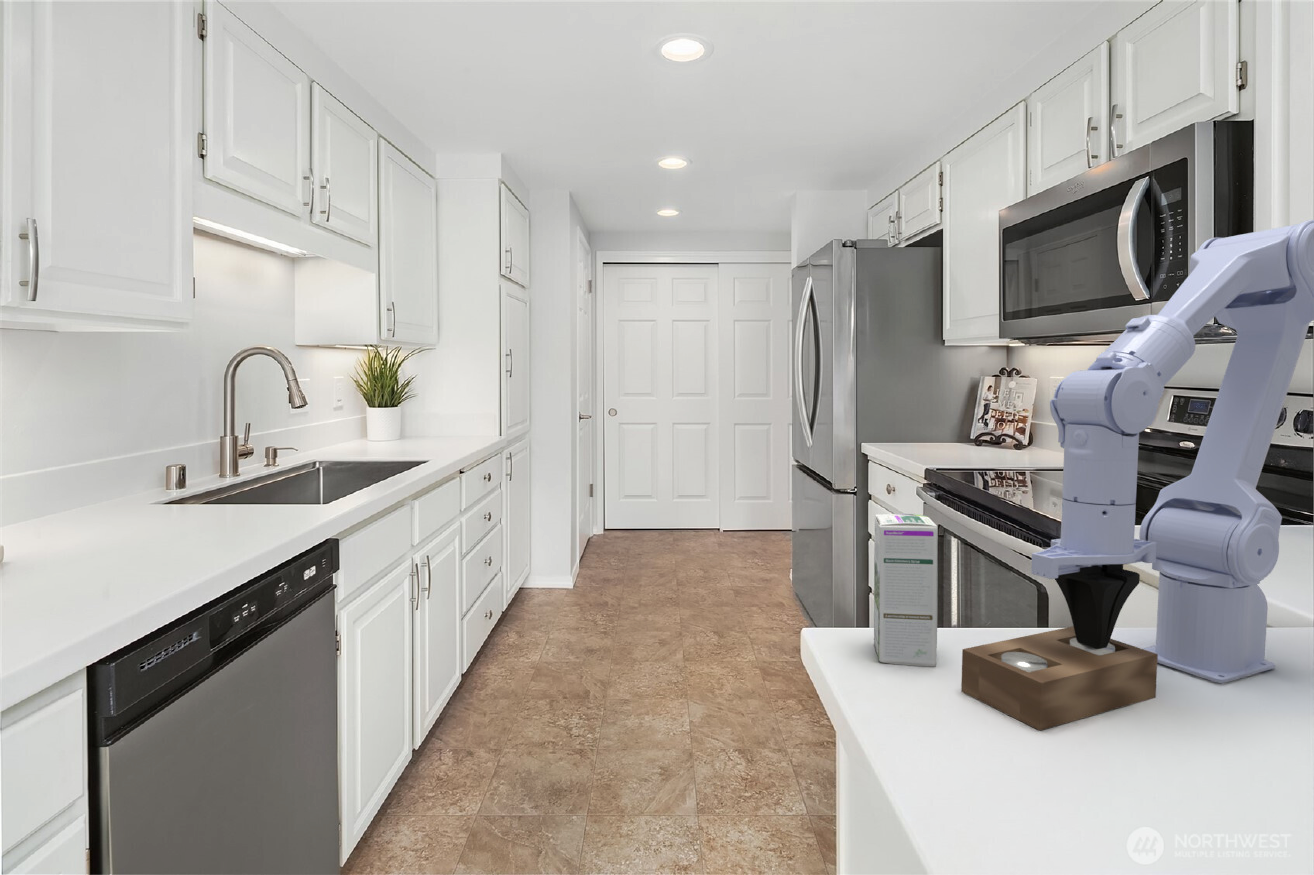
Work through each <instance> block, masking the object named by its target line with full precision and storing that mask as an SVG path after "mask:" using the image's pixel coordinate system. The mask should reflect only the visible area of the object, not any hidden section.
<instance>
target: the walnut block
mask: <svg viewBox="0 0 1314 875" xmlns="http://www.w3.org/2000/svg"><path fill="white" fill-rule="evenodd" d="M1072 638H1076V635H1075V631H1074V626H1073V625H1072V626H1068V627H1062V628H1059V629H1053V630H1048V631H1044V632H1039V633H1034V634H1029V635H1025V636H1020V637H1015V638H1011V639H1005V640H1002V641H1001V640H1000V641H996V642H991V643H986V644H981V645H977V646H972V647H966V648H962V654H961V655H962V656H961V657H962V658H961V685H960V686H961V687H960V688H961V689H960V691H961V693H963V694H965V695H967V696H969V697H970V698H974V699H976V700H977V701H979V702H981V703H983V704H986V705H988V706H989V707H992V708H994V709H995V710H998V711H1000V712H1002V713H1003V714H1004V715H1005V714H1006V715H1008V716H1010V717H1011V718H1014V719H1016V720H1017V721H1020V722H1022V723H1023V724H1026V725H1027V726H1030V727H1032V728H1034V729H1035V728H1036V730H1038V731H1043V730H1046V729H1051V728H1054V727H1058V726H1060V725H1065V724H1069V723H1071V722H1075V721H1079V720H1082V719H1084V718H1085V719H1086V718H1089V717H1093V716H1096V715H1099V714H1103V713H1105V712H1109V711H1110V712H1111V711H1113V710H1116V709H1119V708H1123V707H1126V706H1130V705H1134V704H1137V703H1140V702H1144V701H1149V700H1152V699H1155V698H1156V696H1157V676H1158V662H1157V659H1158V654H1156V653H1153V652H1150V651H1147V650H1144V649H1143V648H1141V647H1138V646H1134V645H1131V644H1130V643H1129V644H1128V643H1126V642H1125V643H1124V642H1122V641H1120V640H1116V639H1113V638H1110V641H1109V643H1110V644H1112V645H1113V646H1114V647H1115V652H1112V653H1108V654H1104V655H1100V656H1099V655H1096V654H1093V653H1091V652H1088V651H1085V650H1082V649H1079V648H1077V647H1074V646H1071V645H1070V639H1072ZM1007 652H1022V653H1028V654H1032V655H1036V656H1038V657H1041V658H1043V659H1044V660H1046V661H1047V663H1048V665H1047V668H1045V669H1041V670H1037V671H1032V672H1026V671H1024V670H1022V669H1019V668H1017V667H1015V666H1012V665H1010V664H1007V663H1005V662H1003V661H1001V656H1002V654H1004V653H1007Z"/></svg>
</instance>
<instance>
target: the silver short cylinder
mask: <svg viewBox="0 0 1314 875" xmlns="http://www.w3.org/2000/svg"><path fill="white" fill-rule="evenodd" d="M1070 645H1071V646H1074V647H1077V648H1079V649H1082V650H1085V651H1088V652H1091V653H1093V654H1096V655H1099V656H1100V655H1104V654H1108V653H1112V652H1115V647H1114V646H1113V645H1112V644H1110V643H1108V646H1107V647H1105V648H1101V649H1095V648H1093V647H1090V646H1087V645H1084V644H1081V643H1078V642H1077V639H1076V638H1072V639H1070Z"/></svg>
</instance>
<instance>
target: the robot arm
mask: <svg viewBox="0 0 1314 875" xmlns="http://www.w3.org/2000/svg"><path fill="white" fill-rule="evenodd" d="M1214 318H1216V320H1217V322H1218V323H1219V324H1221V325H1223V326H1225V327H1228V328H1231V329H1233V330H1234V331H1236V335H1237V336H1236V339H1235V341H1234V342H1235V343H1234V346H1233V348H1232V352H1231V354H1230V358H1229V359H1228V360H1229V361H1228V363H1227V367H1226V369H1225V372H1224V375H1223V378H1222V381H1221V384H1220V387H1219V390H1218V393H1217V395H1216V399H1215V401H1214V405H1213V407H1212V412H1211V413H1210V416H1209V420H1208V423H1207V425H1206V429H1205V432H1204V433H1203V434H1204V435H1203V437H1202V441H1201V444H1200V446H1199V449H1198V452H1197V456H1196V459H1195V462H1194V464H1193V467H1192V470H1191V473H1190V474H1189V475H1188V476H1185V477H1183V478H1181V479H1179V480H1177V481H1175V482H1172V483H1171V484H1168V485H1166V486H1165V487H1163V488H1162V489H1160V491H1159V493H1158V496H1157V498H1156V501H1155V502H1154V505H1153V506H1152V507H1151V508H1150V510H1149V511H1148V513H1147V514H1146V515H1145V516H1144V518H1143V519H1142V521H1141V524H1140V528H1139V535H1138V536H1139V538H1135V533H1136V532H1135V530H1136V529H1135V528H1136V508H1137V506H1136V503H1137V487H1138V486H1137V484H1138V466H1139V465H1138V464H1139V463H1138V462H1139V460H1138V459H1139V443H1140V442H1139V440H1140V433H1142V432H1144V430H1146V429H1147V428H1148V427H1150V426H1152V424H1153V423H1154V421H1155V418H1156V417H1157V414H1158V409H1159V403H1160V400H1161V399H1162V397H1163V396H1164V392H1165V386H1166V385H1167V384H1168V383H1169V382H1170V381H1171V380H1172V379H1173V378H1174V376H1175V375H1176V374H1177V373H1178V372H1179V371H1180V369H1182V368H1183V367H1184V366H1185V364H1186V363H1187V362H1188V361H1189V360H1190V359H1191V358H1192V357H1193V355H1194V353H1195V350H1196V341H1195V338H1194V336H1195V335H1196V334H1197V333H1198V332H1200V330H1202V328H1204V327H1205V326H1206V325H1207V324H1208V323H1210V322H1211V321H1212V320H1213V319H1214ZM1313 321H1314V219H1309V220H1305V221H1303V222H1302V221H1301V223H1297V224H1291V225H1286V226H1282V227H1276V228H1270V229H1269V228H1268V229H1264V230H1258V231H1254V232H1248V233H1243V234H1237V235H1233V236H1228V237H1227V236H1226V237H1219V236H1218V237H1212V238H1209V239H1207V240H1205V241H1204V242H1202V244H1201V245H1200V246H1199V248H1198V249H1197V251H1195V252H1193V253H1192V254H1191V255H1190V259H1189V275H1188V276H1187V277H1186V278H1185V279H1184V281H1183V282H1182V283H1181V285H1180V286H1179V287H1178V289H1177V290H1176V291H1175V292H1174V294H1172V296H1171V297H1170V299H1168V301H1167V302H1166V303H1165V305H1164V306H1163V307H1162V308H1161V309H1160V311H1159V312H1158V313H1157V314H1147V315H1143V316H1141V317H1140V316H1139V317H1136V318H1135V317H1134V318H1131V319H1130V320H1129V321H1128V322H1127V323H1126V324H1125V330H1124V331H1123V332H1122V333H1121V334H1120V335H1119V336H1118V337H1117V338H1116V339H1115V340H1114V341H1113V342H1112V343H1111V344H1110V345H1109V346H1108V347H1107V348H1106V349H1105V350H1104V351H1103V352H1101V353H1100V354H1099V355H1098V356H1097V357H1096V360H1095V361H1094V362H1093V363H1091V365H1090V366H1088V368H1087V369H1085V370H1084V369H1083V370H1076V371H1073V372H1071V373H1069V374H1068V375H1067V376H1066V377H1065V378H1063V379H1062V380H1061V381H1060V382H1059V383H1058V384H1057V387H1056V388H1055V391H1054V394H1053V399H1050V400H1049V409H1050V414H1051V417H1052V419H1053V421H1054V423H1055V424H1056V427H1057V429H1058V443H1059V444H1060V445H1059V446H1060V447H1061V448H1062V449H1064V450H1063V471H1062V493H1061V495H1062V496H1061V497H1062V498H1061V499H1062V501H1061V502H1062V503H1061V519H1060V520H1061V521H1060V522H1061V524H1060V527H1061V528H1060V538H1056V539H1055V538H1054V539H1051V540H1050V547H1048V548H1046V549H1044V550H1040V551H1036V552H1032V553H1031V570H1030V573H1031V574H1032V575H1033V576H1038V577H1042V578H1045V579H1048V580H1055V582H1056V584H1057V585H1058V587H1059V589H1060V590H1061V592H1062V595H1063V596H1064V600H1065V602H1066V605H1067V607H1068V611H1069V613H1070V617H1071V623H1072V626H1074V631H1075V635H1076V639H1077V642H1078V643H1081V644H1084V645H1087V646H1090V647H1093V648H1095V649H1101V648H1105V647H1107V646H1108V643H1109V641H1110V639H1112V635H1113V632H1114V629H1115V627H1116V623H1117V620H1118V618H1119V615H1120V613H1121V610H1122V609H1123V607H1124V605H1125V603H1126V602H1127V600H1128V598H1129V597H1130V595H1131V594H1132V593H1133V591H1134V590H1135V589H1136V588H1137V587H1138V585H1139V584H1140V581H1141V580H1140V578H1141V575H1140V573H1138V572H1136V571H1132V570H1127V569H1124V566H1125V565H1129V564H1136V563H1145V564H1151V570H1153V571H1156V572H1159V574H1158V575H1159V576H1158V591H1157V592H1158V594H1157V611H1156V612H1157V615H1156V616H1157V617H1156V618H1157V619H1156V635H1155V645H1152V646H1148V647H1143V648H1142V649H1144V650H1147V651H1150V652H1153V653H1156V654H1158V659H1157V664H1161V665H1164V666H1167V667H1169V668H1173V669H1176V670H1179V671H1181V672H1183V673H1184V672H1185V673H1187V674H1191V675H1193V676H1196V677H1200V678H1203V679H1204V680H1205V679H1206V680H1208V681H1211V682H1214V683H1217V684H1225V683H1228V682H1231V681H1235V680H1238V679H1241V678H1242V679H1243V678H1245V677H1249V676H1251V675H1252V676H1253V675H1256V674H1259V673H1263V672H1266V671H1270V670H1272V669H1276V663H1275V662H1273V661H1270V660H1268V659H1267V660H1266V659H1265V657H1266V642H1267V640H1266V639H1267V626H1268V625H1267V624H1268V623H1267V622H1268V610H1269V608H1268V607H1269V606H1268V600H1267V598H1266V597H1267V596H1266V595H1265V593H1264V592H1263V590H1262V589H1261V587H1260V586H1259V584H1261V582H1262V581H1263V580H1264V579H1265V578H1266V577H1268V576H1269V575H1270V574H1271V573H1272V572H1273V570H1274V568H1275V566H1276V564H1277V562H1278V559H1279V554H1280V541H1279V537H1280V530H1281V525H1282V520H1283V516H1282V514H1281V513H1280V512H1279V510H1278V509H1277V508H1276V506H1275V505H1274V504H1273V503H1272V502H1270V500H1269V499H1267V498H1266V497H1265V496H1264V495H1263V494H1262V493H1261V492H1259V491H1258V490H1257V489H1256V488H1257V485H1258V482H1259V478H1260V476H1261V473H1262V471H1263V470H1262V469H1263V467H1264V465H1265V460H1266V458H1267V455H1268V452H1269V449H1270V446H1271V444H1272V440H1273V437H1274V433H1275V431H1276V428H1277V425H1278V422H1279V418H1280V416H1281V413H1282V409H1283V407H1284V404H1285V401H1286V398H1287V395H1288V392H1289V388H1290V385H1291V382H1292V381H1293V380H1292V379H1293V376H1294V373H1295V371H1296V367H1297V364H1298V361H1299V358H1300V355H1301V352H1302V349H1303V345H1304V344H1305V340H1306V337H1307V333H1308V330H1309V327H1310V323H1312V322H1313Z"/></svg>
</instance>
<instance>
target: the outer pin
mask: <svg viewBox="0 0 1314 875" xmlns="http://www.w3.org/2000/svg"><path fill="white" fill-rule="evenodd" d="M1001 661H1003V662H1005V663H1007V664H1010V665H1012V666H1015V667H1017V668H1019V669H1022V670H1024V671H1026V672H1032V671H1037V670H1041V669H1045V668H1047V665H1048V663H1047V661H1046V660H1044V659H1043V658H1041V657H1038V656H1036V655H1032V654H1028V653H1022V652H1007V653H1004V654H1002V656H1001Z"/></svg>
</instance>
